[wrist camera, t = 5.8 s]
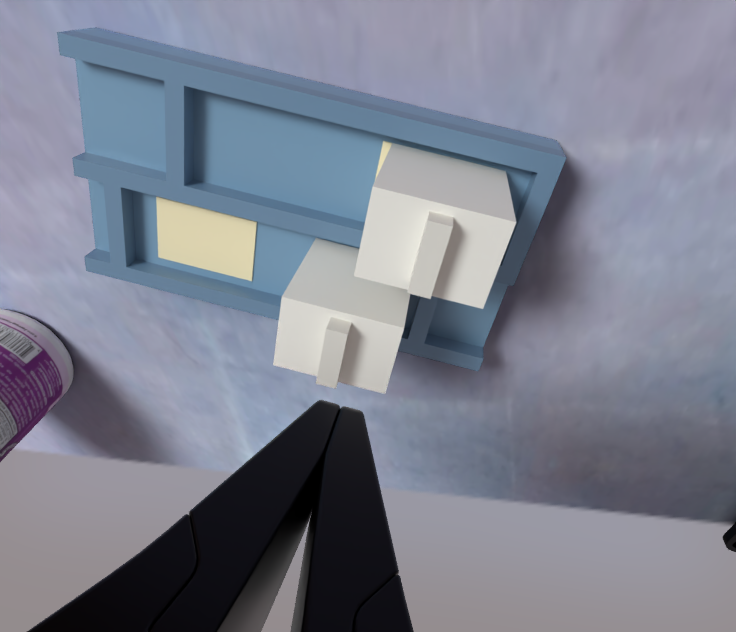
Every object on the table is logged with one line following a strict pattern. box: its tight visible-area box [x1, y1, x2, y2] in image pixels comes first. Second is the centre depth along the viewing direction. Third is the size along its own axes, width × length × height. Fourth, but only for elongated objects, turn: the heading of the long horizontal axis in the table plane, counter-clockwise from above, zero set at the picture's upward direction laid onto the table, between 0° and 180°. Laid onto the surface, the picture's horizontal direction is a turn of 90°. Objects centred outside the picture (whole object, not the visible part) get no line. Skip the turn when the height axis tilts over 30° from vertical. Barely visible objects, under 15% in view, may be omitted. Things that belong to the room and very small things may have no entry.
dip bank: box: [57, 28, 566, 371], centre depth 18 cm, size 15×8×2 cm, turn 79°
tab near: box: [354, 143, 516, 309], centre depth 15 cm, size 4×2×5 cm
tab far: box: [273, 238, 410, 394], centre depth 17 cm, size 4×2×5 cm
